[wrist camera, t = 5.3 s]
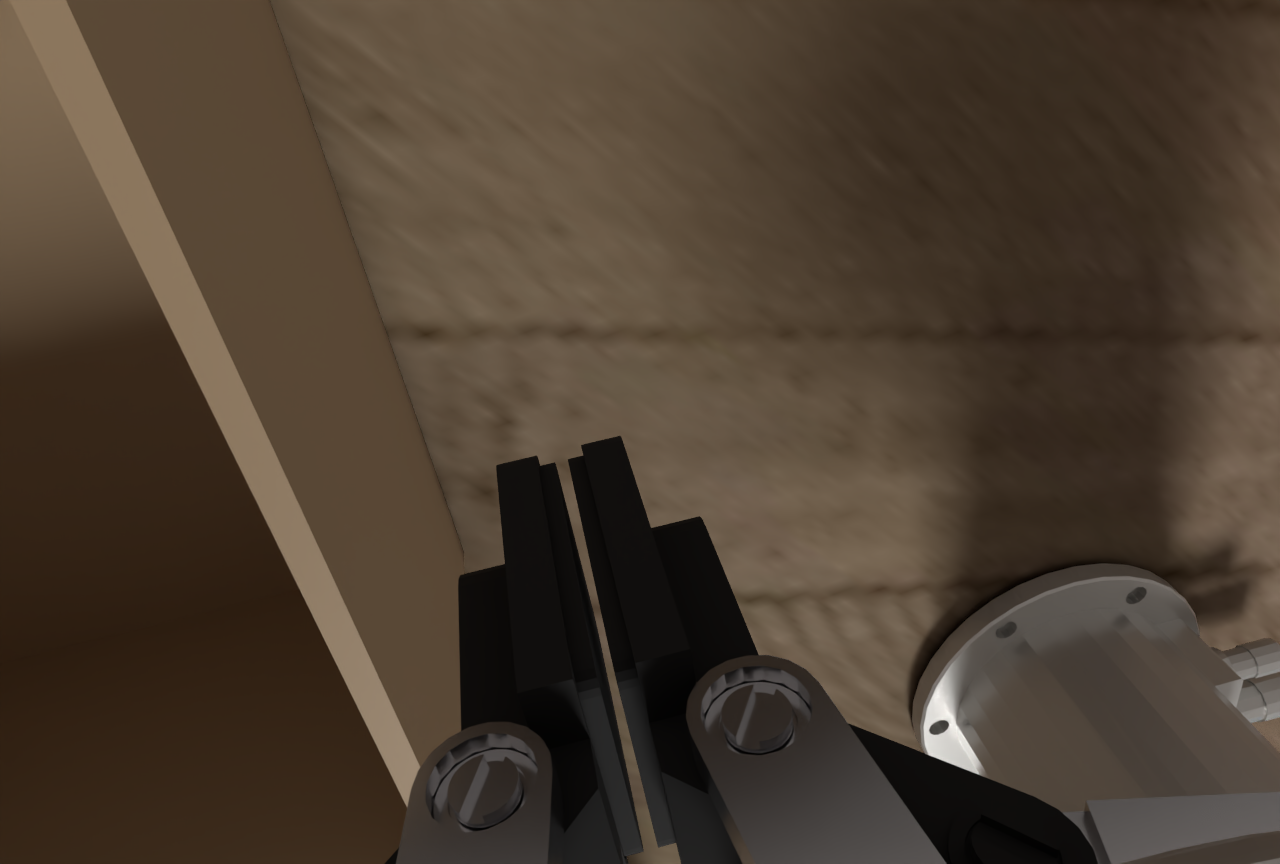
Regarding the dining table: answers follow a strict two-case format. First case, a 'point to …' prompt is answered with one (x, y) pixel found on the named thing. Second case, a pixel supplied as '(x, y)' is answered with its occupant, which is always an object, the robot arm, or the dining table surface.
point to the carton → (201, 463)
